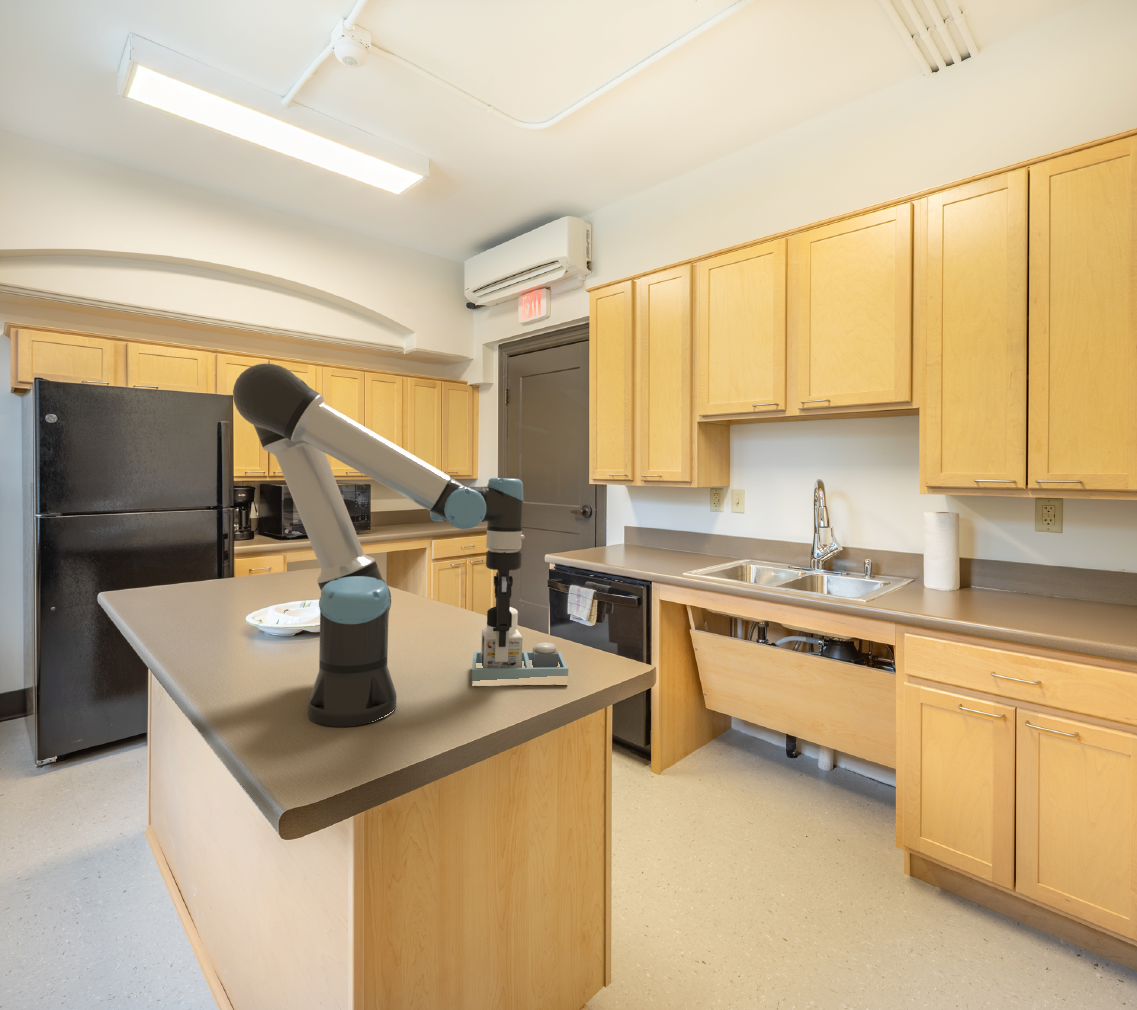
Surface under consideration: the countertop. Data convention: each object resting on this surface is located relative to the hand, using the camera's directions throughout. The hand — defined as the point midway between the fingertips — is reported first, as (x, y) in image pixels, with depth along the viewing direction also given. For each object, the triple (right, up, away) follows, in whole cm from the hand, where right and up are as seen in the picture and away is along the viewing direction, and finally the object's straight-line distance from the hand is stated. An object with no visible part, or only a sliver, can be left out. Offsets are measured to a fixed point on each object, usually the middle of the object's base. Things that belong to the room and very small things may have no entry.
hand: (500, 654), depth 129 cm
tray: (+4, -5, +1) cm, 6 cm away
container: (0, -3, 0) cm, 3 cm away
